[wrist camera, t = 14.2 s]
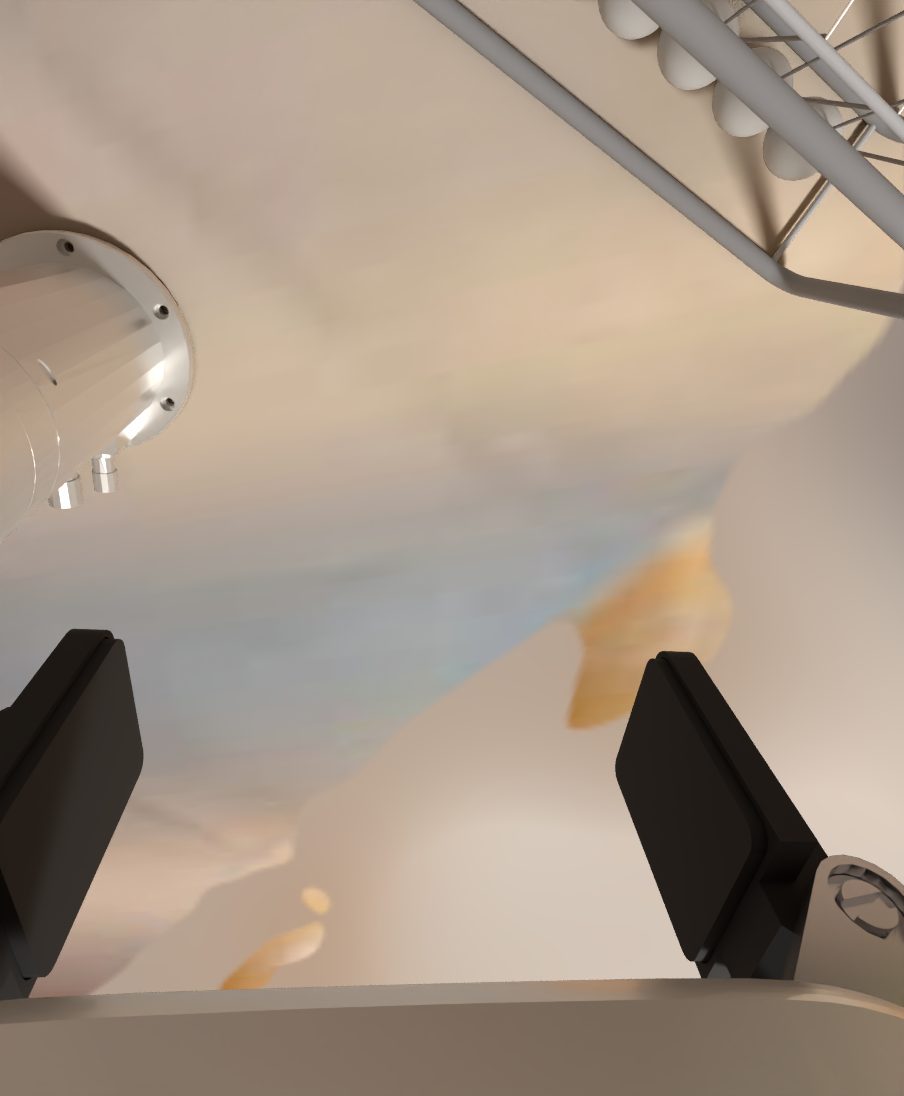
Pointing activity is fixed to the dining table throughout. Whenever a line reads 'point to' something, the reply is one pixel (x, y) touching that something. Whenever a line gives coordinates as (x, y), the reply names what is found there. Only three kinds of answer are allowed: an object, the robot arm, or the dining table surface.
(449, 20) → the newton's cradle
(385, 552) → the dining table surface
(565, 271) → the dining table surface
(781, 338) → the dining table surface
